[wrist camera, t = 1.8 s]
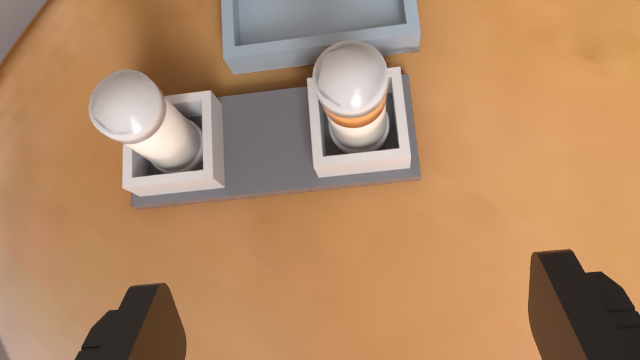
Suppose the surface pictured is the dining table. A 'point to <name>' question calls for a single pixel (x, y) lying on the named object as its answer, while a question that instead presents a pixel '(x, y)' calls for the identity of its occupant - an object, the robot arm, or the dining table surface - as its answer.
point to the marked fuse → (353, 95)
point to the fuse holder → (273, 148)
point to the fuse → (146, 122)
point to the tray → (312, 30)
